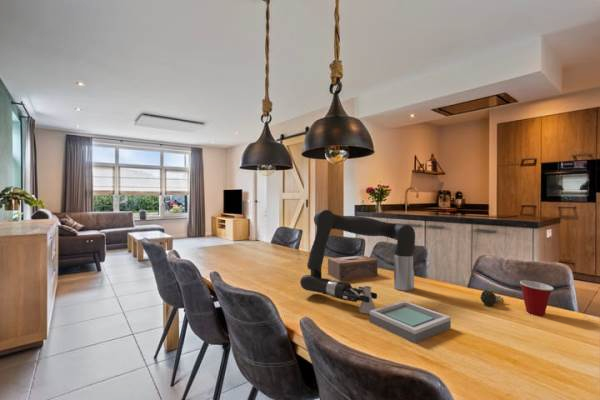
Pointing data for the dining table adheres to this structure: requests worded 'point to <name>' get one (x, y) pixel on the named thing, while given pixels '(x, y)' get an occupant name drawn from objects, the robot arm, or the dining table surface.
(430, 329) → the grey square tray
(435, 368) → the dining table surface
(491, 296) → the figurine
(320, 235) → the robot arm
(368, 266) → the tissue box cover
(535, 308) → the plastic cup
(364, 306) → the flask
